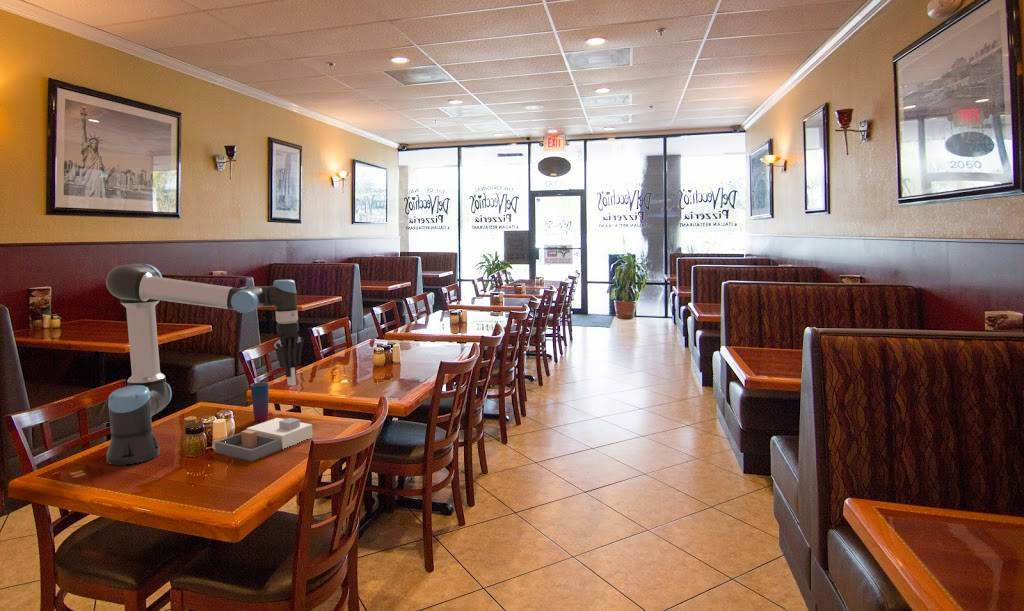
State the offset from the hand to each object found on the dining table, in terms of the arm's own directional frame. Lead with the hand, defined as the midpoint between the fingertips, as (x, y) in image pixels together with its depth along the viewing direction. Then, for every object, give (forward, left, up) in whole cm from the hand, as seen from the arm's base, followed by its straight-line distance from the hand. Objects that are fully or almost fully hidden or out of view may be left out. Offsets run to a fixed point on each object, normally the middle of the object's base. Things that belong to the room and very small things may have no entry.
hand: (291, 384), depth 217 cm
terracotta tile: (-6, -14, -17) cm, 22 cm away
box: (-2, -19, -20) cm, 27 cm away
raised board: (-2, -5, -20) cm, 20 cm away
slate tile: (+2, -4, -15) cm, 15 cm away
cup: (-27, +8, -20) cm, 34 cm away
